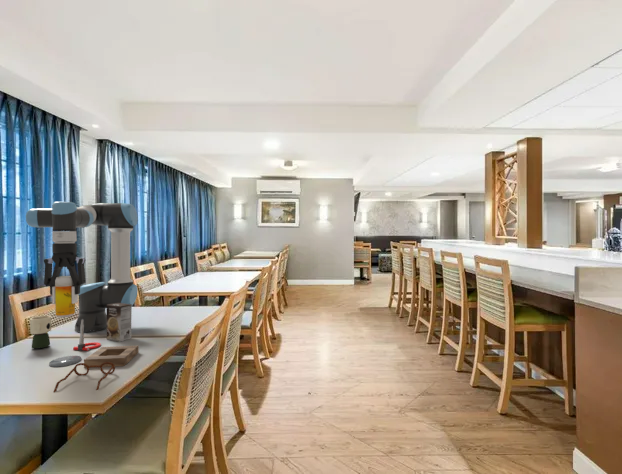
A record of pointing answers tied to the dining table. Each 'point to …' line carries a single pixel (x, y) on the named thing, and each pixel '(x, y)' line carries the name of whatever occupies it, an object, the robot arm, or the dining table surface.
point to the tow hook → (81, 341)
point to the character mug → (40, 331)
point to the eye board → (112, 356)
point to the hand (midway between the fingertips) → (65, 303)
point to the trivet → (64, 361)
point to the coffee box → (119, 321)
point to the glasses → (88, 371)
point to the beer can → (64, 297)
